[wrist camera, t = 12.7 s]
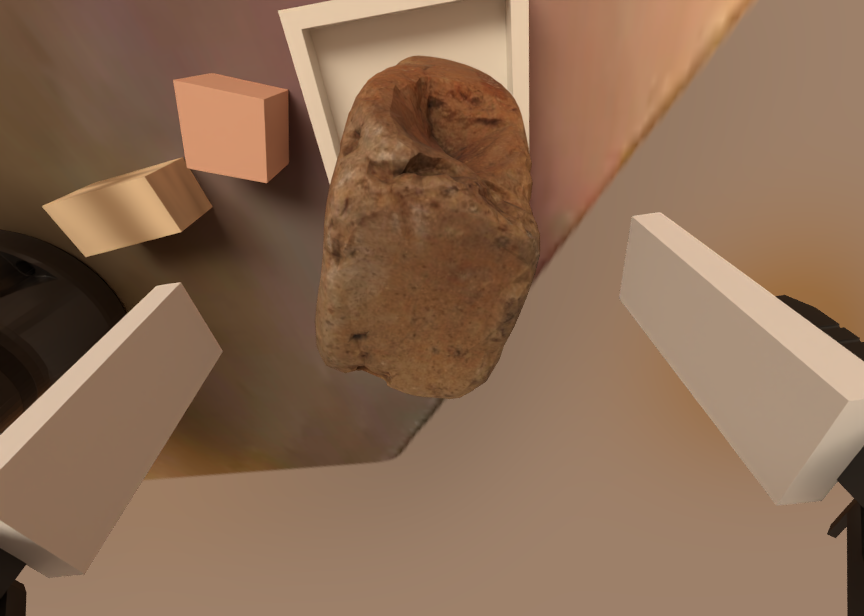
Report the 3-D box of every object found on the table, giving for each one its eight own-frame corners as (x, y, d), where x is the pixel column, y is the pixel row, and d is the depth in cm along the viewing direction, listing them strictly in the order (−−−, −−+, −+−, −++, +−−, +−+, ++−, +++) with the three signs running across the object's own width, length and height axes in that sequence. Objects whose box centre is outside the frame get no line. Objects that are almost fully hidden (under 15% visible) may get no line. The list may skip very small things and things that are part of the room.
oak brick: (128, 229, 33) (85, 257, 29) (93, 183, 31) (41, 206, 26) (213, 206, 32) (181, 231, 28) (183, 156, 29) (144, 176, 25)
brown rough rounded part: (453, 224, 32) (481, 429, 15) (361, 200, 30) (284, 395, 14) (502, 73, 26) (635, 142, 9) (389, 37, 24) (311, 41, 8)
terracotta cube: (220, 149, 29) (186, 168, 25) (213, 73, 26) (173, 80, 22) (289, 162, 30) (267, 183, 26) (288, 89, 27) (263, 99, 23)
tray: (360, 254, 34) (355, 271, 32) (293, 13, 24) (277, 10, 22) (522, 231, 33) (529, 247, 31) (517, -30, 23) (528, -37, 21)
